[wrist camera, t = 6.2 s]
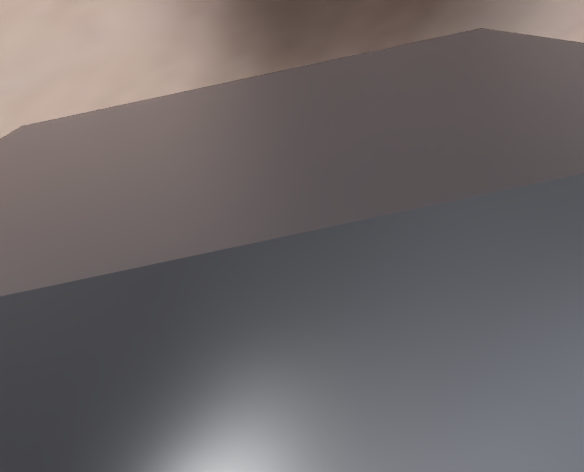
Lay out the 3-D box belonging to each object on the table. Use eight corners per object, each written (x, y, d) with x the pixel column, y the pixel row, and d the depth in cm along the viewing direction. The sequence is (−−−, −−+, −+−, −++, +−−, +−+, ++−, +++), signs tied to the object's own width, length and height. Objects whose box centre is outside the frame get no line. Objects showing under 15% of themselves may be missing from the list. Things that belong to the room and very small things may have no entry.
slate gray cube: (481, 28, 12) (952, 96, 4) (500, 396, 16) (753, 792, 8) (21, 126, 12) (-417, 384, 4) (156, 467, 16) (70, 931, 8)
